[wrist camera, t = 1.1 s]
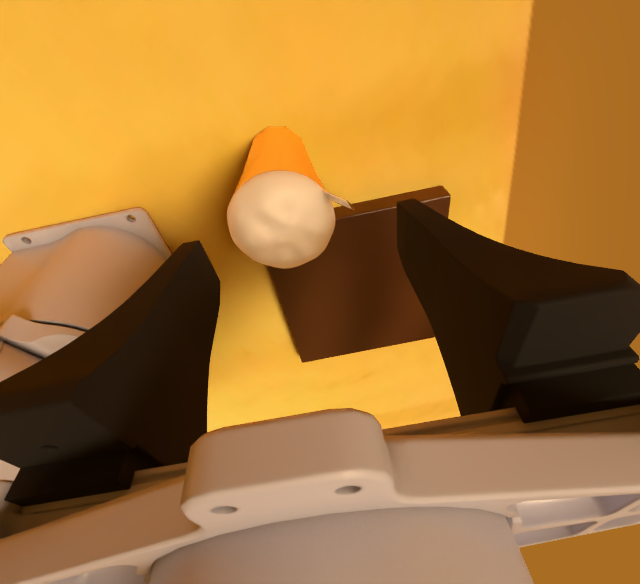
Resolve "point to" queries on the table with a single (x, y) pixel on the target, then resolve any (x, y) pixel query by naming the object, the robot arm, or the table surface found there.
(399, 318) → the board
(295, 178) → the milkshake
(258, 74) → the table surface
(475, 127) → the table surface
